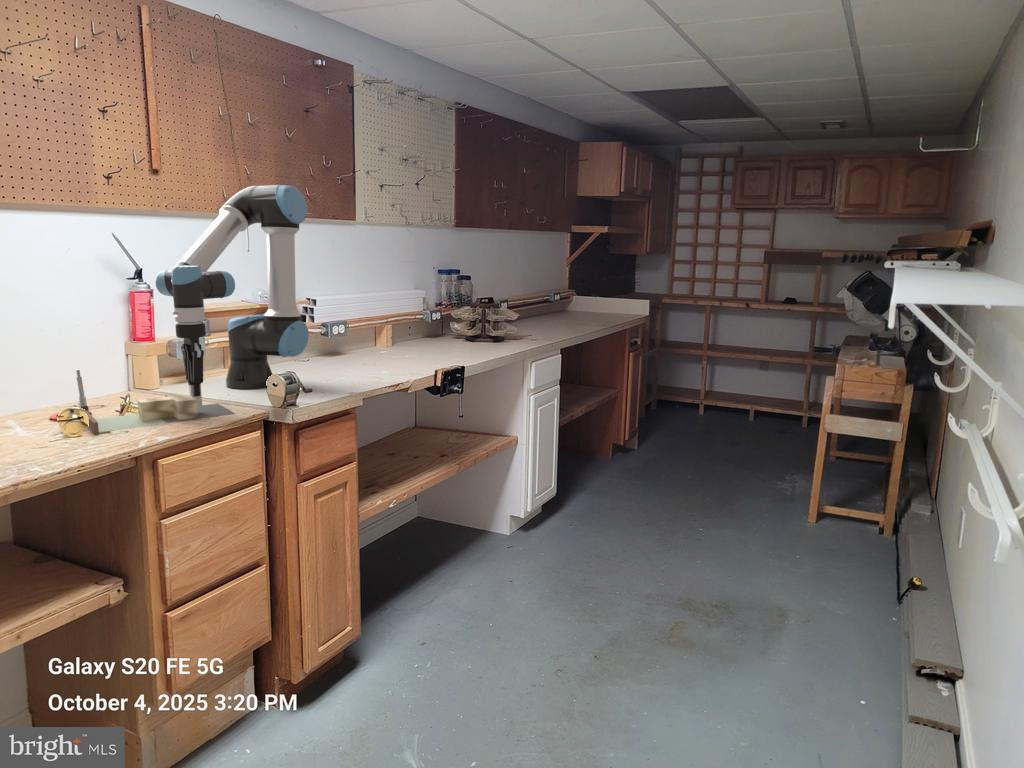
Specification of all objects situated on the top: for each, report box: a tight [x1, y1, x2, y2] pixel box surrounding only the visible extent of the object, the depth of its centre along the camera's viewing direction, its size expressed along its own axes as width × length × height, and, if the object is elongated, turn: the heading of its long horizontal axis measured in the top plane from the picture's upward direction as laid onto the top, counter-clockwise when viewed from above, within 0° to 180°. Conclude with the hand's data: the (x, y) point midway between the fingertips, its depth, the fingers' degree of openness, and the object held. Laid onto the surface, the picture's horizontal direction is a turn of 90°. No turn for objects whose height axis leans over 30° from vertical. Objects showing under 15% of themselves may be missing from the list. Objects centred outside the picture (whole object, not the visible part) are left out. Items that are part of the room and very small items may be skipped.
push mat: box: [85, 402, 236, 435], centre depth 202 cm, size 35×16×3 cm, turn 128°
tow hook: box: [49, 368, 92, 422], centre depth 202 cm, size 8×13×9 cm
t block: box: [137, 391, 198, 421], centre depth 203 cm, size 13×12×5 cm
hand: (196, 406), depth 208 cm, fingers closed
